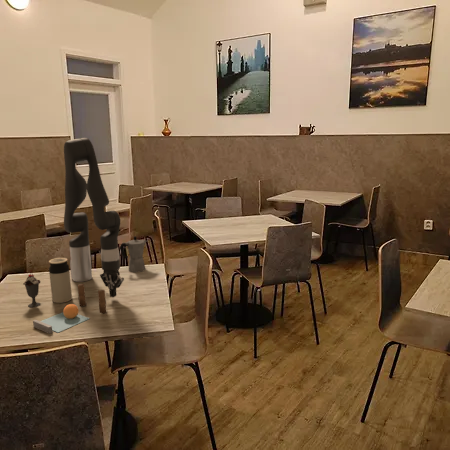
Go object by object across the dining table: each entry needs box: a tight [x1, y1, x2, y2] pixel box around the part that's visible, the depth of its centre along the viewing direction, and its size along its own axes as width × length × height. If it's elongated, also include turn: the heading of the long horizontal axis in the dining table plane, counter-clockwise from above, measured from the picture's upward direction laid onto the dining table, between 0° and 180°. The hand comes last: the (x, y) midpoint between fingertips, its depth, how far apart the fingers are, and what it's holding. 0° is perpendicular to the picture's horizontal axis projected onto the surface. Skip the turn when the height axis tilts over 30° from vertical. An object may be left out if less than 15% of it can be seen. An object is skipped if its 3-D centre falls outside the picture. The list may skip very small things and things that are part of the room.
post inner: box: [77, 283, 87, 307], centre depth 175 cm, size 3×3×9 cm
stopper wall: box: [32, 319, 53, 335], centre depth 154 cm, size 10×1×2 cm, turn 56°
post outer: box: [97, 289, 107, 314], centre depth 168 cm, size 3×3×9 cm
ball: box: [62, 303, 80, 319], centre depth 164 cm, size 6×6×6 cm
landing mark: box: [39, 311, 91, 334], centre depth 161 cm, size 14×14×1 cm
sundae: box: [22, 269, 42, 308], centre depth 176 cm, size 7×7×15 cm
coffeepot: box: [119, 236, 148, 273], centre depth 219 cm, size 15×9×18 cm, turn 129°
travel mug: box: [48, 257, 73, 304], centre depth 181 cm, size 8×8×18 cm
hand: (113, 296), depth 181 cm, fingers closed
